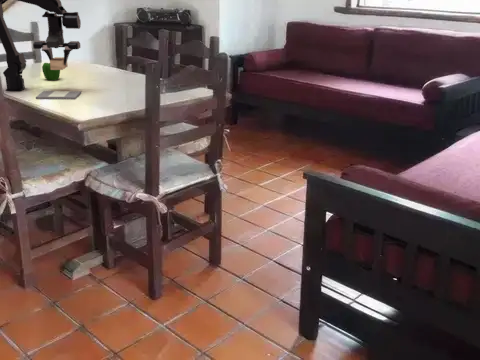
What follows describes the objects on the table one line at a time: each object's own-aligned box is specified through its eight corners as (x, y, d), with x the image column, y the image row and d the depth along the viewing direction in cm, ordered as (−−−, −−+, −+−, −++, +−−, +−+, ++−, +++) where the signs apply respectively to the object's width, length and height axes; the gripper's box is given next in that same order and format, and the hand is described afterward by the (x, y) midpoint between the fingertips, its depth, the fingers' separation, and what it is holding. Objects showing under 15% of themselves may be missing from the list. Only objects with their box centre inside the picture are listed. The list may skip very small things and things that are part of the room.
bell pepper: (49, 82, 258) (46, 60, 255) (40, 79, 264) (38, 58, 260) (65, 79, 264) (63, 58, 261) (56, 77, 269) (54, 56, 266)
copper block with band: (56, 66, 243) (55, 56, 241) (67, 66, 243) (66, 56, 241) (50, 69, 234) (49, 59, 233) (62, 69, 235) (61, 60, 233)
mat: (35, 98, 225) (35, 96, 225) (43, 92, 236) (43, 90, 236) (75, 99, 226) (74, 97, 226) (81, 93, 237) (81, 91, 237)
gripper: (27, 29, 224) (31, 68, 230) (73, 30, 226) (76, 68, 231) (35, 27, 235) (39, 63, 240) (79, 27, 236) (82, 64, 242)
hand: (59, 65), depth 238 cm, fingers closed on copper block with band, 5 cm apart
